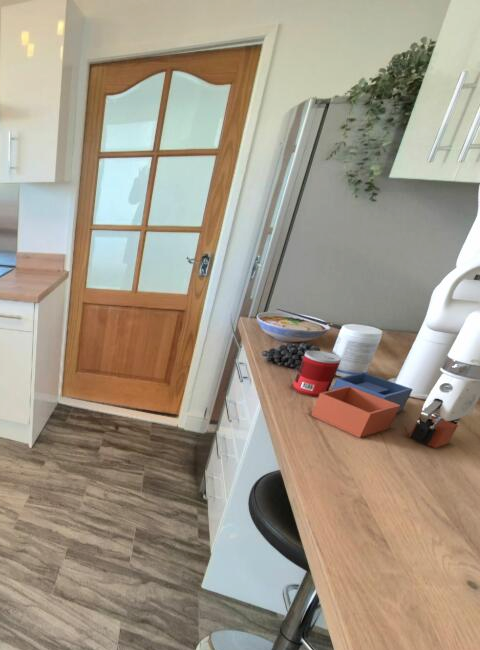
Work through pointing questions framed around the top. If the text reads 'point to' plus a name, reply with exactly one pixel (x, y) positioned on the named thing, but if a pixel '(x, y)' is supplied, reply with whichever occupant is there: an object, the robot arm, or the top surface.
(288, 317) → the ramen bowl
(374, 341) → the supplement tub
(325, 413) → the terracotta bin
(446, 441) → the terracotta block
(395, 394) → the blue bin
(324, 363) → the canned food
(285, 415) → the top surface
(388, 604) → the top surface
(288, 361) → the fruit
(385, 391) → the blue block
